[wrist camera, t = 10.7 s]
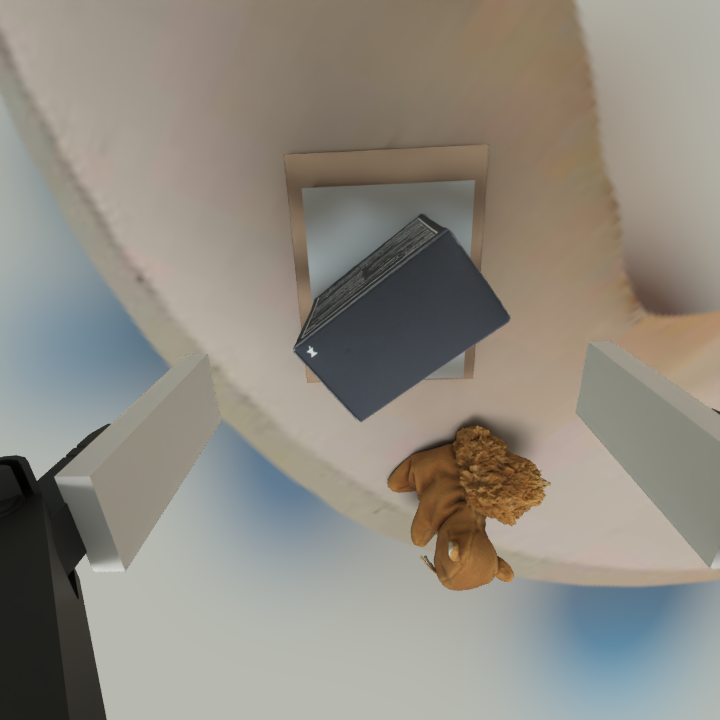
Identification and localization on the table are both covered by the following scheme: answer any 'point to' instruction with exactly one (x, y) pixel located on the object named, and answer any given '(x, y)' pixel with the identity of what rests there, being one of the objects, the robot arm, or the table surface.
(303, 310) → the building base
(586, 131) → the table surface
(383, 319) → the small box
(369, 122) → the table surface
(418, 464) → the stuffed squirrel
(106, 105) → the table surface
